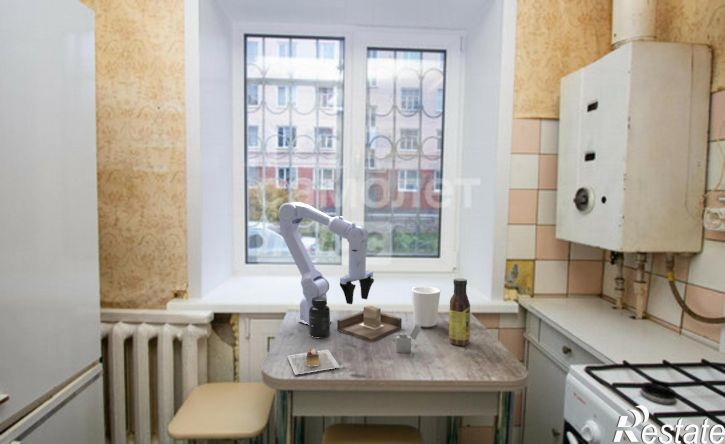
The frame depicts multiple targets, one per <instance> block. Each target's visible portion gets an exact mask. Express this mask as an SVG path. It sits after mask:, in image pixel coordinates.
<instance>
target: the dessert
mask: <svg viewBox="0 0 725 444" xmlns="http://www.w3.org/2000/svg"><path fill="white" fill-rule="evenodd" d="M323 352H325V353H327V355H328V356H329V357H330V359H331V361H332V362H333V364H334V366H335V367H329V368H323V369H316V370H312V371H305V372H298V374H301V375H305V374H304V373H307V374H312V373H311V372H313V373H318V372H317V371H319V372H324V371H323V370H325V371H329V369H331V370H336V369H340V368H341V366H340V365H339V363H338V362H337V360H336V359H335V358H334V355H332V353H331V352H330V350H329V349H324V350H323V349H322V350H316V349H315V348H312V349H311V350H308V352H303V353H301V352H300V353H296V354H295V353H294V354H289V355H286V357H287V359H288V362H289V363H290V366H291V369H292V371H293V374H294V375H295V376H297V375H298V374H297V373H296V370H295V368H294V366H293V364H292V362H291V360H290V356H295V355H304V354H305V355H306V354H307V356H306V357H305V360H304V363H305V364H307V365H310V366H314V365H318V364H320V363H321V364H322V361H321V357H320V355H319V354H318V353H323ZM305 364H304V365H305ZM321 364H320V365H321ZM335 368H336V369H335ZM298 376H299V375H298Z"/></svg>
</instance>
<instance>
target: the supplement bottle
mask: <svg viewBox="0 0 725 444" xmlns="http://www.w3.org/2000/svg"><path fill="white" fill-rule="evenodd" d="M327 301H328V297H327V298H325V297H314V298H312V305H313V306H311V307H310V309H309V326H308V335H309V334H310V335H311V336H313V337H324V338H327V337H329V336H330V334H331V323H330V321H331V308H330V307H329V306H328V302H327ZM310 335H309V336H310ZM311 336H310V337H311ZM326 336H327V337H326ZM313 337H312V338H313Z"/></svg>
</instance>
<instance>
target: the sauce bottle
mask: <svg viewBox="0 0 725 444" xmlns="http://www.w3.org/2000/svg"><path fill="white" fill-rule="evenodd" d="M467 285H468V280H467V279H466V278H460V277H459V278H458V277H456V278H454V279H453V295H452V296H451V297H450V299H449V309H448V312H449V314H448V316H449V319H448V323H449V325H448V337H449V338H448V339H449V340H448V341H449V342H450V343H451V345H455V346H463V347H464V346H466V345H468V344H469V342H470V335H471V334H470V333H471V331H470V330H471V329H470V328H471V304H470V301H469V297H468V295H467Z"/></svg>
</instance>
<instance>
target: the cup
mask: <svg viewBox="0 0 725 444" xmlns="http://www.w3.org/2000/svg"><path fill="white" fill-rule="evenodd" d="M411 297H412V298H411V301H412V302H411V303H412V310H413V311H412V312H413V322H414V325H416V324H418V325H420V326H421V328H423V329H424V330H427V329H429V328H432V329H433V328H436V326H437V322H438V314H439V304H440V297H441V290H440V289H439V288H437V287H434V286H426V285H424V286H414V287H412V289H411Z"/></svg>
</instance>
